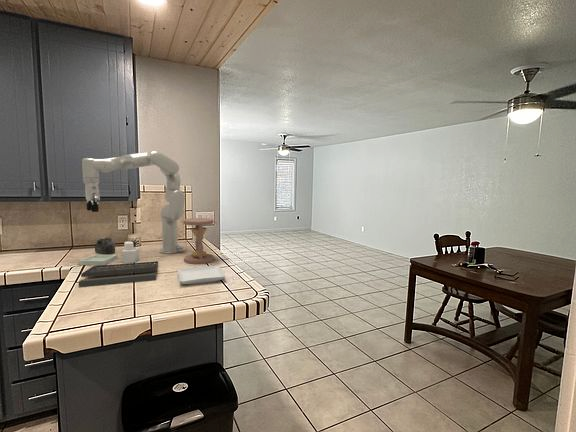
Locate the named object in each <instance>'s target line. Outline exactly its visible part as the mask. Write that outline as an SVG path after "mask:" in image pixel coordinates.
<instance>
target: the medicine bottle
mask: <svg viewBox="0 0 576 432" xmlns="http://www.w3.org/2000/svg"><path fill="white" fill-rule="evenodd" d="M123 245H124V249H123V250H121V264H127V263H137V262H138V261H139V260H140V248H139V247H137V242H136V241H135V240H127V241H125V242H124V244H123Z"/></svg>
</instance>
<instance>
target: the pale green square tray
mask: <svg viewBox="0 0 576 432" xmlns="http://www.w3.org/2000/svg"><path fill="white" fill-rule="evenodd" d="M116 260H118V255H117V254H92V255H89V256H87V257H84V258H81V259H80V260H78V261H77V263H78V264H77V265H78V266H100V265H109V264H110V263H112V262H114V261H116Z"/></svg>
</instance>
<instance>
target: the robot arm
mask: <svg viewBox="0 0 576 432" xmlns="http://www.w3.org/2000/svg"><path fill="white" fill-rule="evenodd" d="M148 166H149V167H150V166H156V167H158V168H159V170H160V172H161V173H162V174H163V175H164V176H165V177H166V185H165V193H164V200H165V201H166V202H167V203H168V204H167V205H164V206H163V207H162V208H161V210H160V216H161V225H162V226H161V229H162V230H161V231H162V248H161V249H160V251H159V252H160V253H161V254H166V255H167V254H177V253H179V252H181V250H185V247H184V246H183V245H181V246H180V244H179V242H178V241H179V238H178V235H179V234H178V233H179V232H178V220H180V219H181V218H182V217H183V214H184V206H185V201H186V197H185V194H184V192H183V190H181V176H180V174H179V171H180V166H179V164H178V163H177V161H175V160H173V159H171V157H169V156H167V155H165V154H164V153H162V152H160V151H159V150H151V151H144V152H136V153H130V154H126V155H125V154H124V155H123V156H121V155H120V156H116V157H109V158H93V157H92V158H90V157H85V158H82V160H81V168H82V170H81V171H82V184H85V187H84V189H85V192H84V193H85V200H86V210H87V211H91V212H92V213H97V212H99V210H100V209H99V201H100V200H101V197H100V187H99V184H100V175H99V173H100V172H101V173H110V172H113V171H118V170H131V169H138V168H145V167H148Z"/></svg>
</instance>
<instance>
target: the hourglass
mask: <svg viewBox="0 0 576 432" xmlns="http://www.w3.org/2000/svg"><path fill="white" fill-rule="evenodd" d="M214 222H215V220H214V219H213V218H207V217H192V218H185V219H183V223H182V224H183V225H187V226H195V227H191V228H190V230H191V232H192V233H193V235H194V236H195V238H196V239H195V241H194V242H195V243H194V244H195V250H194V251H193V252H191V254H188V255H187V254H186V255H185V256H184V258H183V261H184V263H186V264H188V265H189V264H190V265H203V264H208V263H209V264H210V263H212V262H213V261H214V260H215V256H214V255H213V254H211V253H208V252H207V251H205V250H204V244H203V239H204V235H205V233H206V231H207V229H208V228H207V227H204V226H208V225H214Z"/></svg>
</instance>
